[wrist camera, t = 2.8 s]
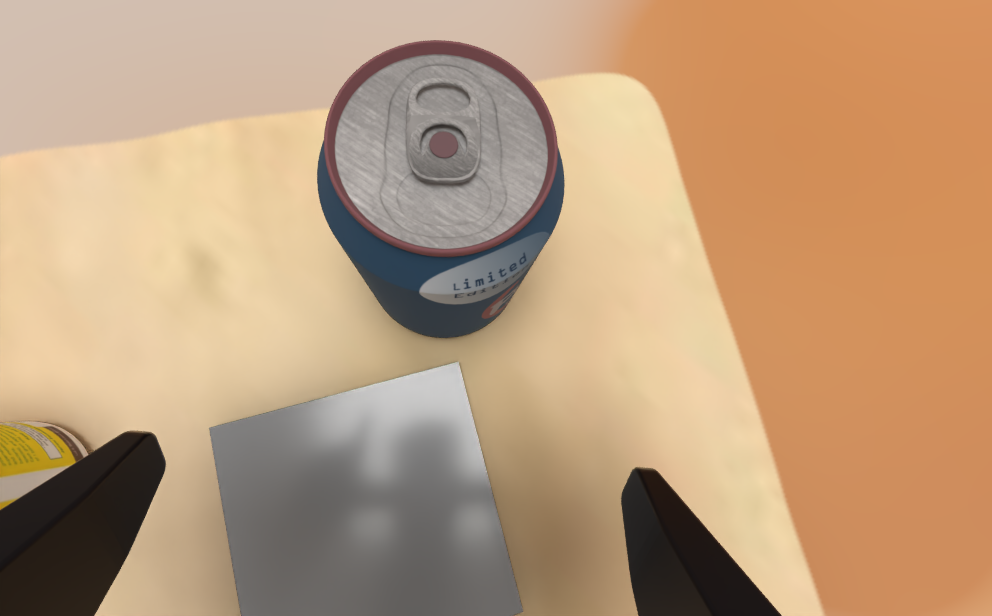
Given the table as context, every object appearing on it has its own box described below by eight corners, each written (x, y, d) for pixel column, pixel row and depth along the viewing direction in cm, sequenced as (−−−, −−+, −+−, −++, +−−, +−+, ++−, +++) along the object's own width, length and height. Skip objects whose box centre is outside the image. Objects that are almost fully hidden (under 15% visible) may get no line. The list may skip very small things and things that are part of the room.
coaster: (521, 605, 21) (523, 612, 20) (262, 696, 19) (256, 706, 19) (458, 362, 22) (458, 361, 22) (215, 427, 21) (209, 427, 20)
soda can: (517, 340, 23) (591, 277, 11) (371, 342, 22) (288, 278, 11) (512, 206, 24) (573, 25, 13) (374, 204, 24) (303, 10, 12)
